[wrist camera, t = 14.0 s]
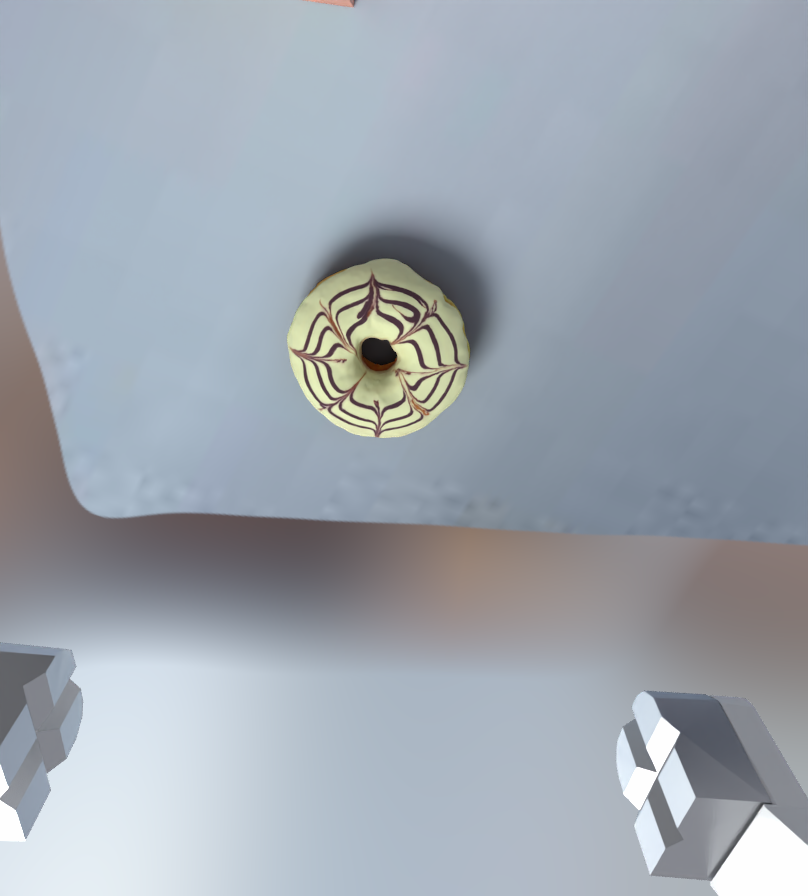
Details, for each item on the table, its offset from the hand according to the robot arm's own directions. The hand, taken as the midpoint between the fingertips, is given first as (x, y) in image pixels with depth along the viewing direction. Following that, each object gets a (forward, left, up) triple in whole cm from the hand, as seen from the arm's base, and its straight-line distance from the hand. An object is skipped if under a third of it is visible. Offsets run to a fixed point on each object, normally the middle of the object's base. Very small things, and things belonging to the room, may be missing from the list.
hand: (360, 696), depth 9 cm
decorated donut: (0, +6, -32) cm, 32 cm away
